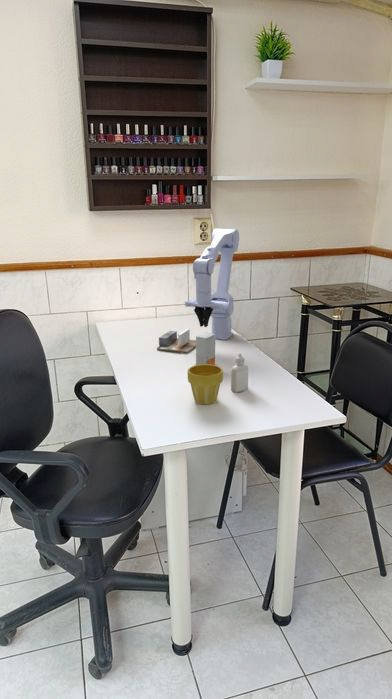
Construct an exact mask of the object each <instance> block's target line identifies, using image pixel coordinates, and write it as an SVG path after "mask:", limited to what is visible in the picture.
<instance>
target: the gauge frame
mask: <svg viewBox="0 0 392 699" xmlns="http://www.w3.org/2000/svg"><path fill="white" fill-rule="evenodd" d="M177 332H178V331H176V330H169V331H168V332H166V333H163V335H161V336H159V337H158V346H157V347H156V351H163V352H169V353H170V352H171V353H179V354H186V355H187V354H190V353H191V352H192V351H193V350H194V349H195V350H196V339H190V341H188V342H187V343H186V344H184V345H183V346H180V347H179V348H177V349H175V347H177V346H178V333H177Z"/></svg>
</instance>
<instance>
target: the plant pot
mask: <svg viewBox="0 0 392 699" xmlns="http://www.w3.org/2000/svg"><path fill="white" fill-rule="evenodd" d="M223 380H224V369H223V368H222V367H221V366H220V365H216V364H215V365H211V364H200V365H196V364H195V365H192V366H190V367H189V368H188V369H187V381H188V383H189V384H190V388H191V391H192V396H193V400H194V402H195V403H196V404H199V405H202V406H203V405H204V406H205V405H206V406H207V405H213V404H215V403H216V402H217V400H218V397H219V396H218V395H219V392H220V387H221V383H222V382H223Z"/></svg>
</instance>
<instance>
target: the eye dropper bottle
mask: <svg viewBox="0 0 392 699" xmlns="http://www.w3.org/2000/svg"><path fill="white" fill-rule="evenodd" d="M230 372H231V374H230V383H231V384H230V390H231V392H233V393H242V392H245V391H246V390H248V388H249V366H248V365H247V364H246V363H245V357H244V356H242V353H241V352H239V353H238V356H236V357H235V364H234V365H233V366H232V367H231V371H230Z"/></svg>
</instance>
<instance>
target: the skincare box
mask: <svg viewBox="0 0 392 699" xmlns="http://www.w3.org/2000/svg"><path fill="white" fill-rule="evenodd" d="M195 340H196V348H195V365H200V364H211V365H216V338H215V334H212V332H204V333H200V334H199V335H196V336H195Z"/></svg>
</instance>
